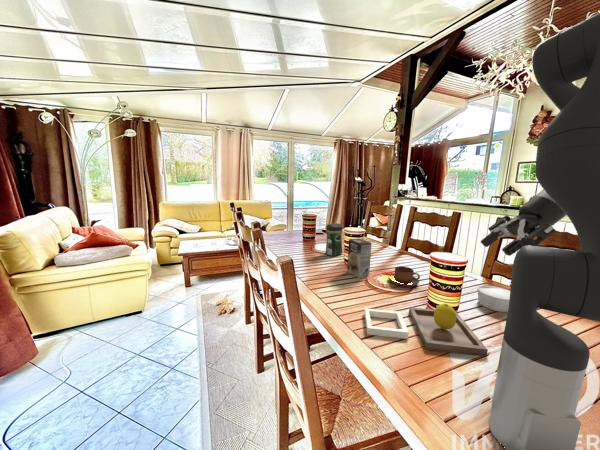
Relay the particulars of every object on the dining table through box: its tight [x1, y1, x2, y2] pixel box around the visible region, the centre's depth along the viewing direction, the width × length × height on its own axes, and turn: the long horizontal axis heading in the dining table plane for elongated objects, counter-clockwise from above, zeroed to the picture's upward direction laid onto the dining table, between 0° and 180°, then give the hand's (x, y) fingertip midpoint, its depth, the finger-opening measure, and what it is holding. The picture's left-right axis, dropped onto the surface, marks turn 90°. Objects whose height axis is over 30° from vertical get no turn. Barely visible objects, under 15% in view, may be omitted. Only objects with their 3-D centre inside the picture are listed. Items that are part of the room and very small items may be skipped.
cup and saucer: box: [388, 266, 421, 287], centre depth 103 cm, size 12×12×6 cm
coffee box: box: [347, 237, 372, 279], centre depth 112 cm, size 9×6×16 cm
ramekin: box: [476, 285, 510, 313], centre depth 84 cm, size 11×11×5 cm
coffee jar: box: [325, 222, 343, 257], centre depth 142 cm, size 10×8×19 cm
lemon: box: [434, 303, 457, 330], centre depth 69 cm, size 6×6×8 cm
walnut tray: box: [408, 306, 489, 357], centre depth 70 cm, size 18×14×2 cm
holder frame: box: [364, 307, 410, 340], centre depth 73 cm, size 11×11×2 cm
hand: (493, 248), depth 63 cm, fingers open, 8 cm apart
